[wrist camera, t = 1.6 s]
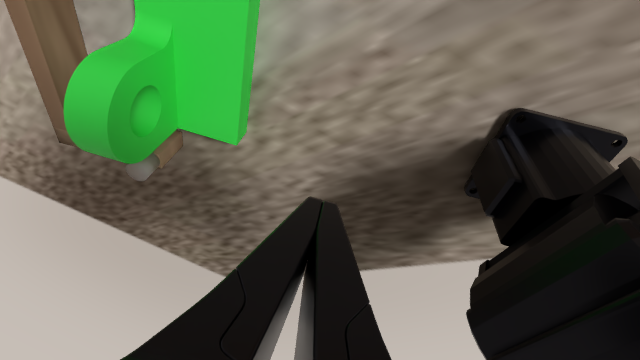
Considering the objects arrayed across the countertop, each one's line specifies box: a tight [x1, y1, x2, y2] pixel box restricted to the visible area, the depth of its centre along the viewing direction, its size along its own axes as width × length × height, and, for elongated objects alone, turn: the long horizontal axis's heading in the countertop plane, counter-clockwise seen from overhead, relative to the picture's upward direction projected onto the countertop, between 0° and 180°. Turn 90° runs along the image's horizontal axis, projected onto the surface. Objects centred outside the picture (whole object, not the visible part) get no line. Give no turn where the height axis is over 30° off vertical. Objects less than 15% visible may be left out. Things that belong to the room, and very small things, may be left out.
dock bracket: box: [4, 0, 183, 181], centre depth 17 cm, size 7×18×4 cm, turn 169°
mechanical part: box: [64, 0, 260, 164], centre depth 16 cm, size 12×6×8 cm, turn 166°
